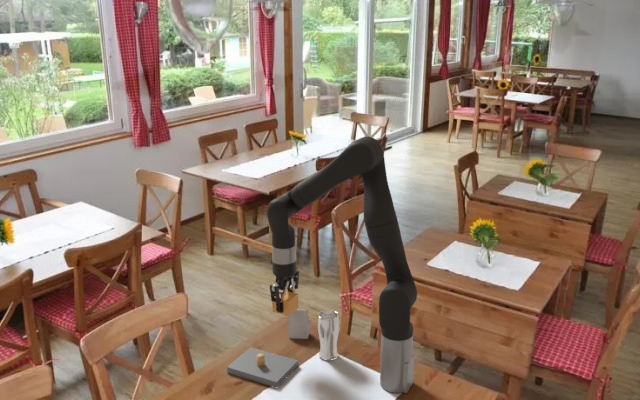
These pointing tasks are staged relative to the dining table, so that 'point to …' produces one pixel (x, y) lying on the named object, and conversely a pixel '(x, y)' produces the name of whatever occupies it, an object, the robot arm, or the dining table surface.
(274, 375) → the board
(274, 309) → the matte orange cube
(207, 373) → the dining table surface
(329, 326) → the beer glass
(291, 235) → the robot arm
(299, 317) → the grey cardboard box
